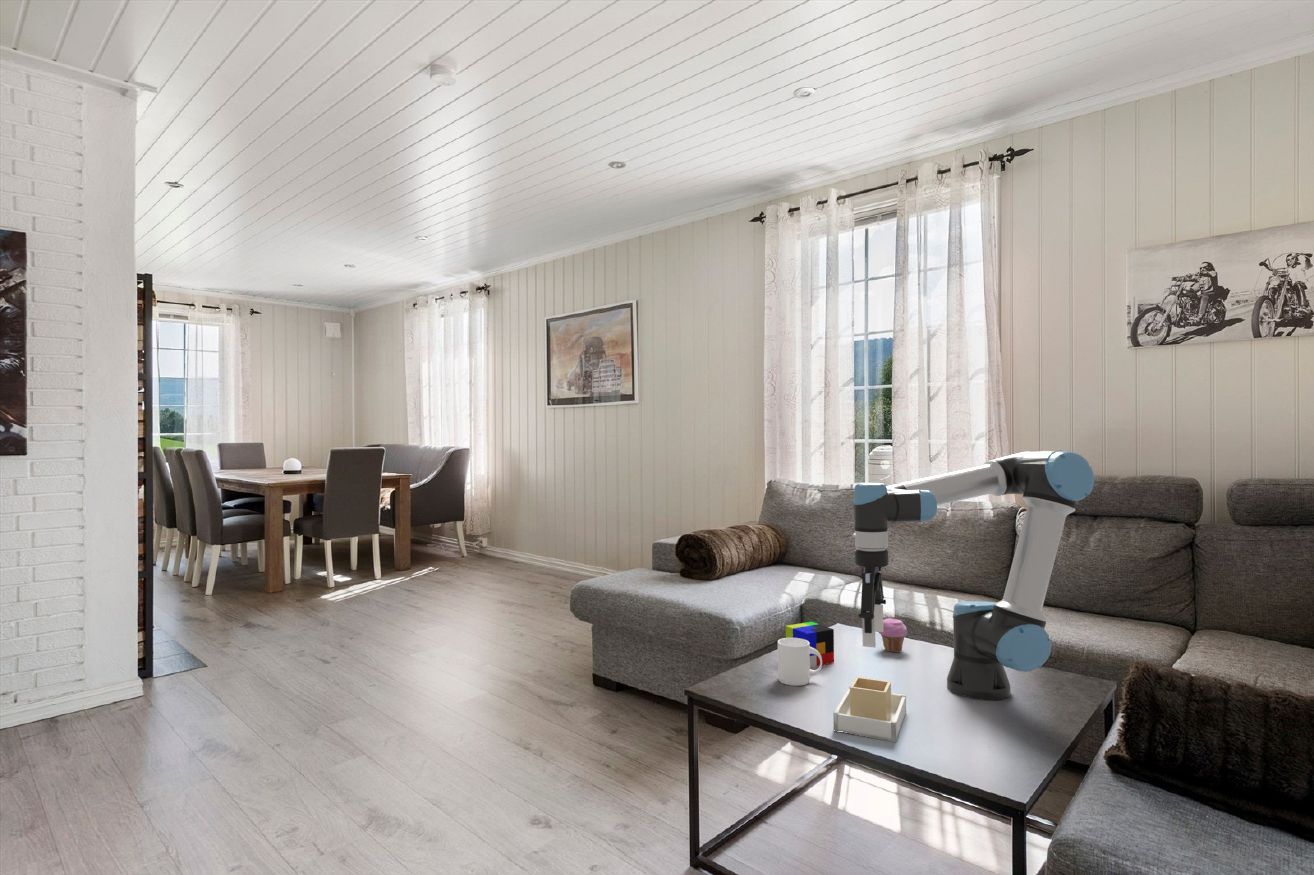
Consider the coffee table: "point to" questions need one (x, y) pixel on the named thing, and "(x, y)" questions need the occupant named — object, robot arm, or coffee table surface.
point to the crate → (871, 720)
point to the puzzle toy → (815, 640)
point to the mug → (795, 661)
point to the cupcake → (893, 634)
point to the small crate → (870, 698)
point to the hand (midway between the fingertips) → (873, 638)
